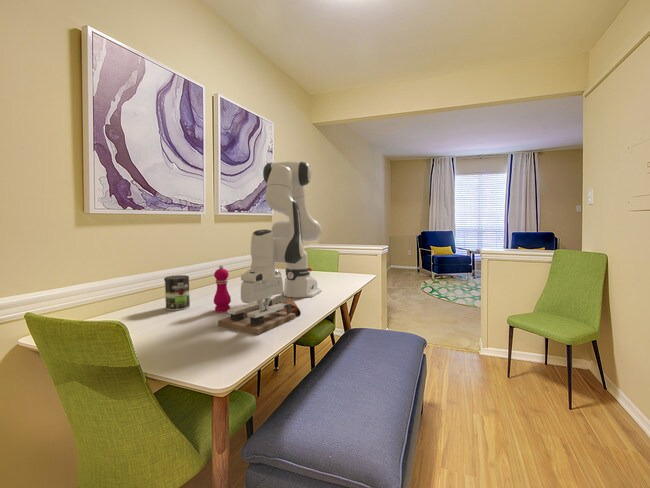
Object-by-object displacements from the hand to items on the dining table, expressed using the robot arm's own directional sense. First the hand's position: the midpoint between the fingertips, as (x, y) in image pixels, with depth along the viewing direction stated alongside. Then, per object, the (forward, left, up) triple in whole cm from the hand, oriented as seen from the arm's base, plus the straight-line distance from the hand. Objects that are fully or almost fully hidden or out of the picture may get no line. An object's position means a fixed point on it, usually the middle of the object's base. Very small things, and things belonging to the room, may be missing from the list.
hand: (263, 309), depth 129 cm
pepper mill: (-7, -30, -6) cm, 32 cm away
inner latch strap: (-3, -10, -1) cm, 11 cm away
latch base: (-2, -5, -6) cm, 8 cm away
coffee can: (0, -51, -6) cm, 51 cm away
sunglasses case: (-21, -5, -7) cm, 22 cm away
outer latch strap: (-3, 0, -1) cm, 3 cm away
